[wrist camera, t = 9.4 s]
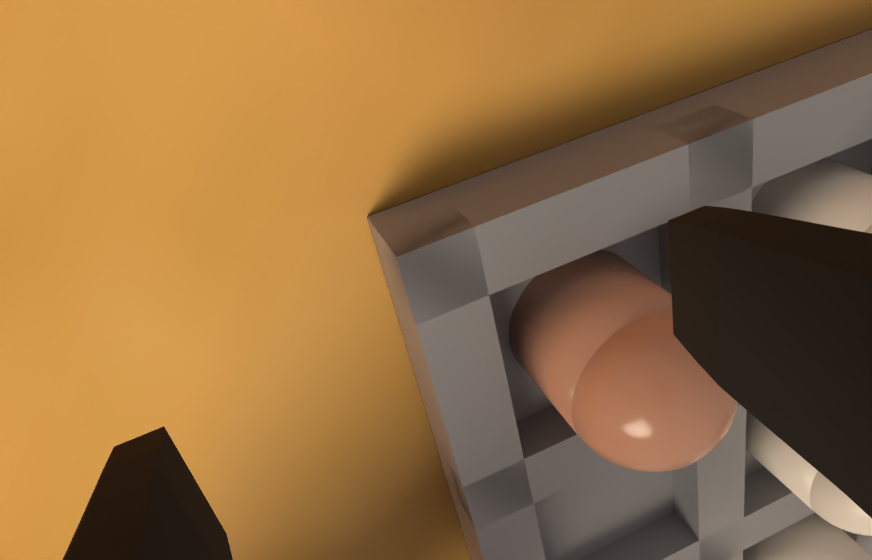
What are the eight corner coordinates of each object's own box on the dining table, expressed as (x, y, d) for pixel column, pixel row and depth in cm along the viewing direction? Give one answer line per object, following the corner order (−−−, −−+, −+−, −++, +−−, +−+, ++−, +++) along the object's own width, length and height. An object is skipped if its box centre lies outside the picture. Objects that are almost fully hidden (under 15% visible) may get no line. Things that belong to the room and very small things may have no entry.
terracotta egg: (521, 399, 22) (628, 538, 18) (496, 283, 20) (612, 406, 15) (643, 345, 23) (777, 463, 18) (633, 227, 21) (783, 327, 16)
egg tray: (518, 714, 33) (599, 885, 27) (367, 216, 19) (469, 355, 13) (838, 541, 36) (968, 661, 31) (909, 14, 22) (1172, 56, 17)
